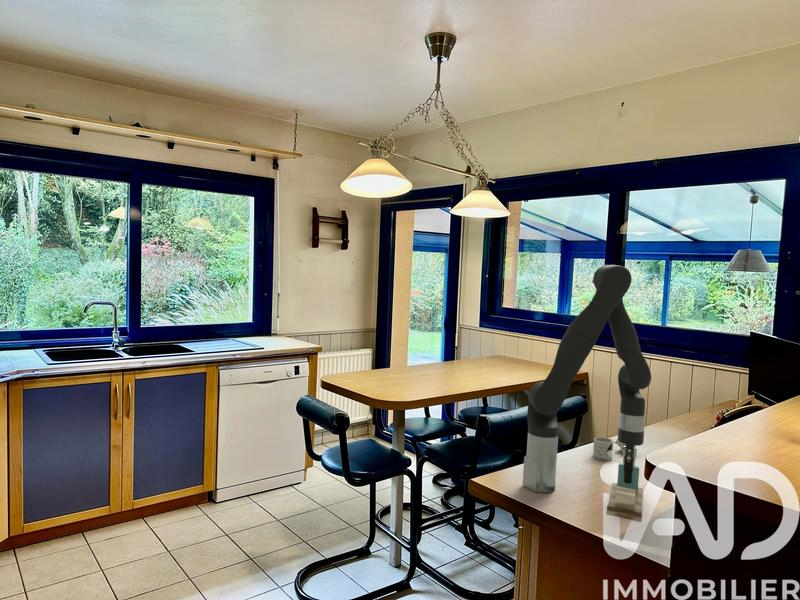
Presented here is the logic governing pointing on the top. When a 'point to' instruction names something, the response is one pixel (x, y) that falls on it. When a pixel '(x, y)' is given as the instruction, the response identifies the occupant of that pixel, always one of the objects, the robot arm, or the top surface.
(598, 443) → the mug
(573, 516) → the top surface
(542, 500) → the top surface
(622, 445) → the game die
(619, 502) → the ash cube
